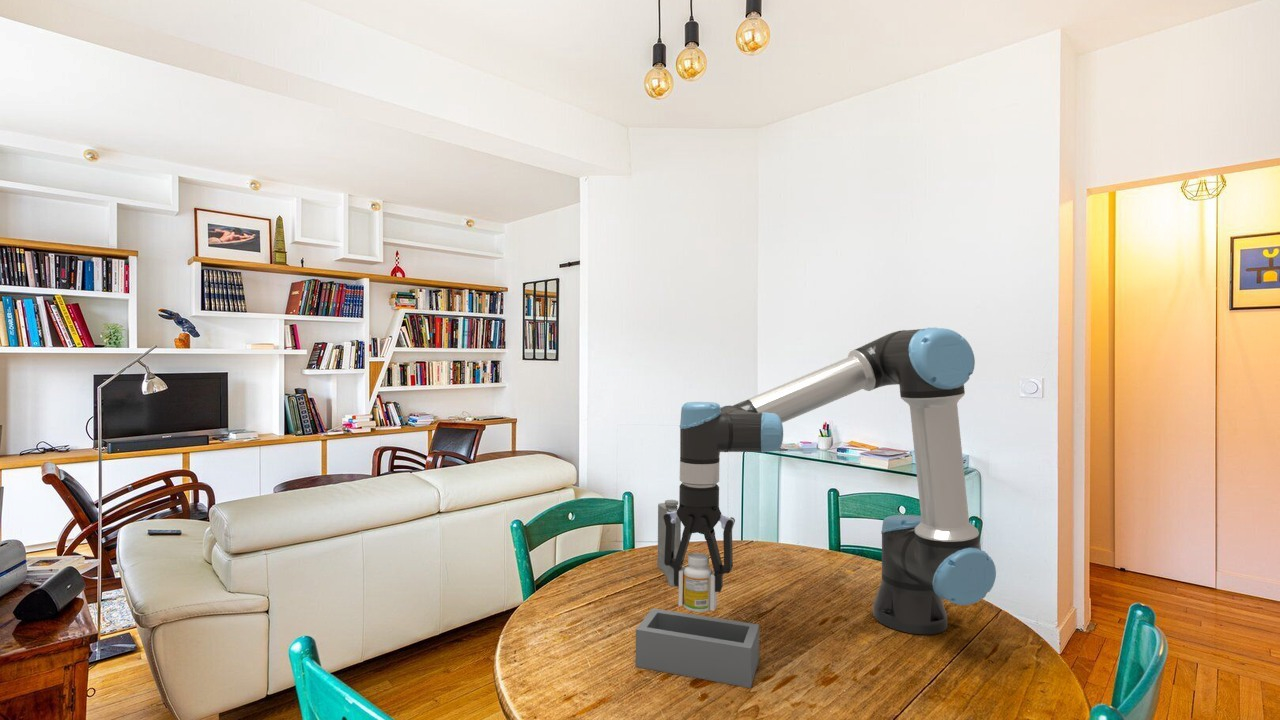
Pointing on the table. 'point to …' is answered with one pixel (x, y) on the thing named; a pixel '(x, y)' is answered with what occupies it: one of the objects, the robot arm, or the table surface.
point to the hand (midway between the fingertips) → (697, 605)
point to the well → (698, 647)
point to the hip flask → (662, 510)
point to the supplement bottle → (697, 583)
